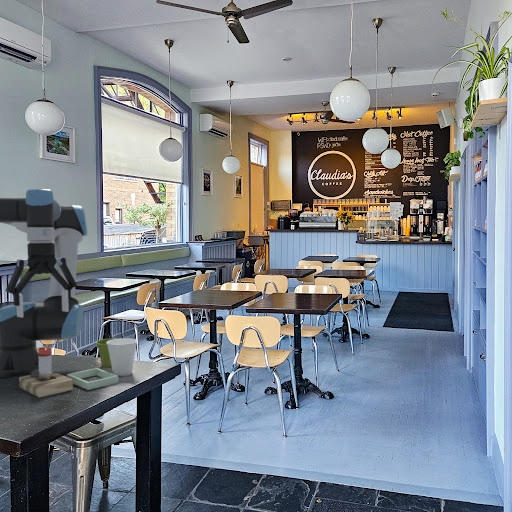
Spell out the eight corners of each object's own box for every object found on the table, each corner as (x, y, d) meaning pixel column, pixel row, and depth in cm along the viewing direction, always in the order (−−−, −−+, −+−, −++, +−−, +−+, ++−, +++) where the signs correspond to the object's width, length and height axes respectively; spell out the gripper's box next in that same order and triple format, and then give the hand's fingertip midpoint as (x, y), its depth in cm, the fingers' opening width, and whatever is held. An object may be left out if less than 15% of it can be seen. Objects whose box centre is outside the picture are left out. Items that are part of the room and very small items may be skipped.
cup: (130, 378, 174) (129, 345, 174) (101, 377, 176) (100, 344, 176) (142, 370, 184) (142, 338, 184) (115, 369, 186) (114, 337, 185)
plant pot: (115, 369, 186) (114, 344, 185) (91, 367, 188) (90, 343, 188) (129, 363, 195) (128, 339, 194) (105, 361, 197) (105, 337, 197)
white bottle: (37, 388, 162) (36, 348, 161) (49, 385, 164) (47, 346, 164) (42, 390, 159) (41, 350, 159) (54, 388, 162) (53, 348, 161)
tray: (67, 384, 169) (66, 374, 169) (97, 377, 177) (96, 368, 176) (87, 393, 160) (87, 382, 160) (118, 385, 167) (118, 375, 167)
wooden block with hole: (19, 390, 163) (18, 371, 163) (51, 383, 170) (51, 365, 170) (39, 400, 153) (38, 380, 153) (72, 392, 161) (72, 373, 160)
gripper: (1, 243, 148) (4, 320, 149) (86, 241, 165) (88, 310, 167) (-9, 243, 153) (-6, 317, 154) (75, 240, 171) (77, 307, 172)
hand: (43, 314), depth 160 cm, fingers open, 13 cm apart
